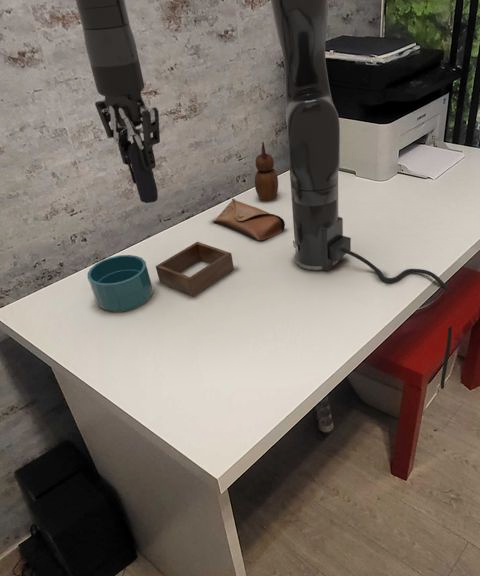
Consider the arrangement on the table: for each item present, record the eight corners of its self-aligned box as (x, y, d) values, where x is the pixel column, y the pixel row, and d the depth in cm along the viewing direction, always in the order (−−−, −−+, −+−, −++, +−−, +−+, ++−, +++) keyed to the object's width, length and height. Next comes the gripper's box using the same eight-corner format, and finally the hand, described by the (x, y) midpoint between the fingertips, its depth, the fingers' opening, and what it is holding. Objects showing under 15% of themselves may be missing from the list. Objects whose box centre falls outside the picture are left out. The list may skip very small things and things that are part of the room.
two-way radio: (159, 203, 96) (138, 116, 87) (134, 207, 95) (110, 120, 86) (158, 192, 100) (138, 108, 91) (135, 195, 100) (112, 111, 90)
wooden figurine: (275, 203, 137) (270, 144, 127) (254, 202, 138) (247, 144, 128) (281, 192, 142) (276, 135, 132) (260, 192, 143) (254, 135, 133)
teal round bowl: (164, 291, 107) (157, 264, 103) (121, 319, 101) (111, 291, 96) (129, 276, 113) (121, 249, 109) (86, 302, 106) (75, 274, 102)
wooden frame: (234, 269, 112) (231, 253, 110) (193, 296, 105) (189, 279, 102) (200, 257, 117) (197, 241, 115) (159, 282, 110) (155, 266, 108)
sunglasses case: (209, 220, 130) (216, 194, 128) (230, 225, 136) (236, 199, 134) (260, 241, 120) (268, 212, 118) (280, 245, 125) (288, 217, 124)
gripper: (162, 57, 82) (182, 166, 92) (105, 51, 89) (130, 152, 100) (124, 68, 77) (149, 181, 88) (67, 60, 84) (97, 165, 95)
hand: (139, 165), depth 94 cm, fingers closed on two-way radio, 5 cm apart
